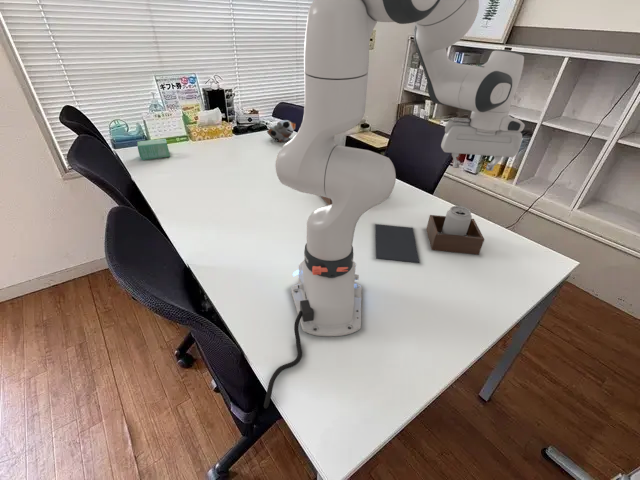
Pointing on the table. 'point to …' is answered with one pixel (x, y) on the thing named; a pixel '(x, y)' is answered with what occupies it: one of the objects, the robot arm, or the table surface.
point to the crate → (454, 237)
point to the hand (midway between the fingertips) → (472, 168)
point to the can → (457, 221)
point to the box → (153, 149)
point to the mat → (396, 243)
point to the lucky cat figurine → (282, 130)
